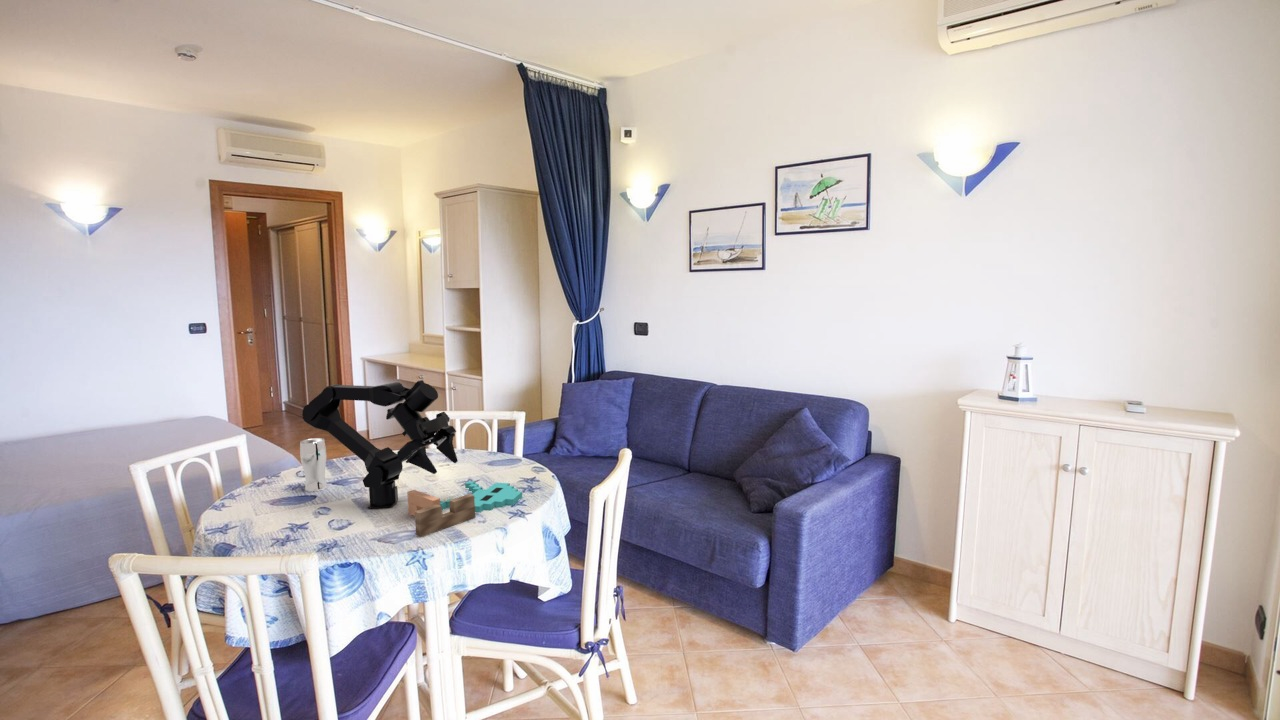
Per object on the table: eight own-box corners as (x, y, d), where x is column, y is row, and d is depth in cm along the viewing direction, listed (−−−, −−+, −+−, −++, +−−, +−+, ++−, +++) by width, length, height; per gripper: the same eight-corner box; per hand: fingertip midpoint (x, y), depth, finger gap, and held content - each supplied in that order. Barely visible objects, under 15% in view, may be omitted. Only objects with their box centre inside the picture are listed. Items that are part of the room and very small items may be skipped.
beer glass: (297, 491, 188) (293, 442, 186) (314, 484, 195) (311, 437, 193) (317, 493, 186) (313, 443, 185) (334, 485, 193) (330, 438, 191)
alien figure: (434, 511, 171) (503, 515, 167) (434, 503, 170) (502, 507, 166) (468, 488, 190) (531, 491, 186) (468, 481, 190) (530, 484, 186)
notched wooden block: (420, 537, 152) (419, 513, 151) (416, 535, 153) (414, 511, 153) (475, 517, 164) (474, 495, 164) (470, 515, 166) (469, 493, 165)
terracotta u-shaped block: (441, 521, 162) (439, 498, 161) (434, 523, 161) (432, 500, 160) (415, 511, 170) (414, 489, 169) (408, 513, 168) (407, 491, 167)
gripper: (406, 412, 158) (443, 461, 157) (450, 397, 176) (484, 441, 174) (381, 437, 162) (417, 485, 161) (426, 420, 179) (459, 463, 178)
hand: (446, 467), depth 168 cm, fingers open, 9 cm apart
